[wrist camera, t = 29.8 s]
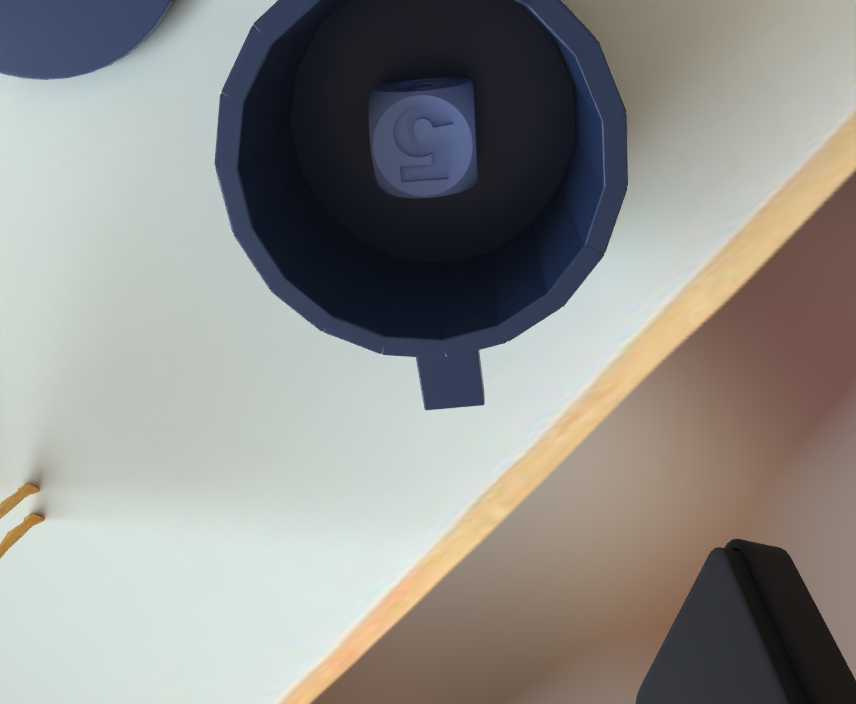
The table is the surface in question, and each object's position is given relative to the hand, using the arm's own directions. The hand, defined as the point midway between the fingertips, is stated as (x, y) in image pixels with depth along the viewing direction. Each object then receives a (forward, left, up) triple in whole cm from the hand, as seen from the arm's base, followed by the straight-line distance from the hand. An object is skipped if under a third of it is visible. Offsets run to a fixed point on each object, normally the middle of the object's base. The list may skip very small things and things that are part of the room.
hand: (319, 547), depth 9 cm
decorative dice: (0, 0, -26) cm, 26 cm away
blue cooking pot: (0, 0, -26) cm, 26 cm away
